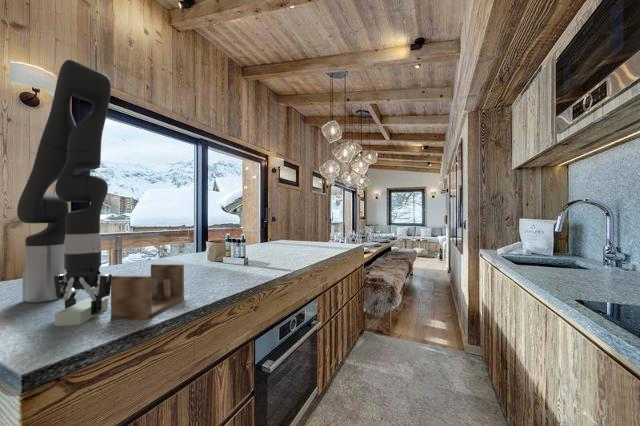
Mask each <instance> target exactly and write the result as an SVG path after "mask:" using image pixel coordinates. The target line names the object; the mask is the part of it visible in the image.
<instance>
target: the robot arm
mask: <svg viewBox="0 0 640 426" xmlns="http://www.w3.org/2000/svg"><path fill="white" fill-rule="evenodd" d="M111 81H112V80H111V79H110V77H109V76H108V75H106V74H104V73H103V72H100V71H98V70H96V69H93V68H91V67H89V66H87V65H85V64H83V63H81V62H78V61H75V60H73V59H67V60H65V61H64V62H63V63H62V64H61V67H60V69H59V72H58V75H57V80H56V85H55V89H54V95H53V98H52V103H51V108H50V111H49V116H48V118H47V121H46V123H45V126H44V130H43V132H42V135H41V136H40V137H41V138H40V140H39V144H38V148H37V151H36V155H35V159H34V162H33V165H32V169H31V172H30V174H29V177H28V180H27V182H26V184H25V186H24V189H23V190H22V192H21V195H20V197H19V200H18V202H17V208H16V214H17V218H18V220H19V221H20V222H22V223H24V224H47V227H45V229H43V230H41V231H39V232H37V233H33V234H30V235H28V236H26V238H25V244H24V245H25V269H23V270H22V302H23V301H24V302H25V303H43V302H49V301H55V300H58V299H63V301H64V309H66V308H68V307H70V306H72V305H74V304H76V303H77V298H76V296H77V295H78V292H79V291H81V290H83V291H85V292H86V294H88V295H89V297H90V299H92V300H93V301H91V315H95V316H97V315H98V313H99V314H100V313H101V312H100V311H101V310H102V298H107V297H108V296H111V276H113V275H112V274H111V273H107V274H105V273H103V274H101V271H100V268H101V266H102V239H101V214H102V209H103V206H104V203H105V200H106V197H107V195H108V191H109V186H108V183H107V181H106V179H105V178H104V177H102V176H98V175H80V174H81V173H82V172H87V171H93V170H97V169H99V168H100V166H101V161H102V160H101V159H102V140H103V139H102V138H103V133H104V132H103V131H104V127H105V123H106V120H107V114H108V111H109V110H108V109H109V104H110V99H111V94H112V82H111ZM72 97H73V98H74V97H75V98H77V99H79V100H83V101H86V102H87V103H91V104H92V108H91V109H92V110H91V112H90V113H89V114H88V115H87V116H86V117H85V118H84V119H83V120H82V121H80V122H79V123H78V124H76V121H75V119H74V116H73V113H72V109H71V101H72ZM55 182H56V183H55ZM53 183H55V185H54V191H55V194H46V192H47V191H48V189H49V188H50V187H51V185H52V184H53ZM68 202H70V203H71V202H72V203H90V204H89V205H88V207H86V208H85V209H81V210H73V211H70V210H69V204H68ZM96 314H97V315H96Z"/></svg>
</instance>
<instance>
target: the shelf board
mask: <svg viewBox="0 0 640 426" xmlns="http://www.w3.org/2000/svg"><path fill="white" fill-rule="evenodd" d="M108 298H109V297H103V298H102V310H101V311H100V313H102V312H104V311H105V310H108V309H109V303H108V300H109V299H108ZM91 301H93V300H92V299H91V298H84V299H83V300H81V301H78V302H76V304H74V305H72V306H70V307H68V308H66V309H65V308H64V309H61V310H59V311H58V312H56V313H54V327H60V326H63V327H64V326H76V325H77V326H79V325H80V326H81V325H82V324H84V323H85V322H87V321H89V320H90V319H92V318H94V317H95V316H98V314H100V313H98V314H96V315H91Z"/></svg>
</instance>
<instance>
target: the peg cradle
mask: <svg viewBox="0 0 640 426" xmlns="http://www.w3.org/2000/svg"><path fill="white" fill-rule="evenodd" d="M184 265H185V264H183V263H181V264H180V263H179V264H178V263H174V264H173V263H171V264H170V263H169V264H168V263H152V264H150V275H126V274H125V275H120V274H119V275H116V274H115V275H112V276H111V288H110V319H111V320H150V319H152V318H154V317H155V316H157V315H159V314H160V313H162V312H164V311H165V310H168V309H169V308H171V307H172V306H174V305H176V304H177V303H179V302H181V301H183V300H184V299H185V296H184V295H185V294H184V293H185V286H184V285H185V281H184V280H185V274H184V273H185V266H184Z"/></svg>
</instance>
